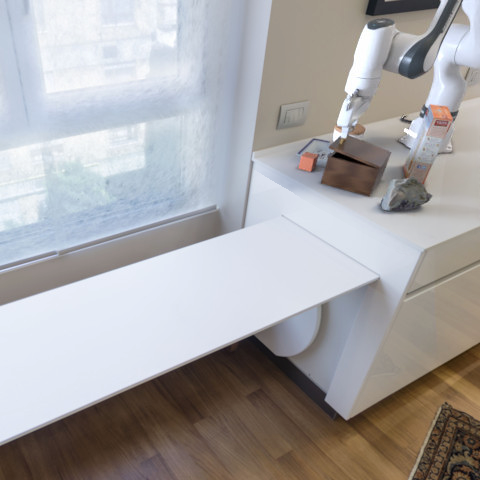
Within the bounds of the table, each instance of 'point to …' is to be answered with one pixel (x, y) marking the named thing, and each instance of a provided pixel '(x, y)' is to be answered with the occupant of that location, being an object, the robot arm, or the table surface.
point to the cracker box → (428, 142)
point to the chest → (352, 174)
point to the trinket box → (355, 133)
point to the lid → (360, 150)
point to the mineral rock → (405, 195)
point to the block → (308, 161)
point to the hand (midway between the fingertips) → (347, 133)
